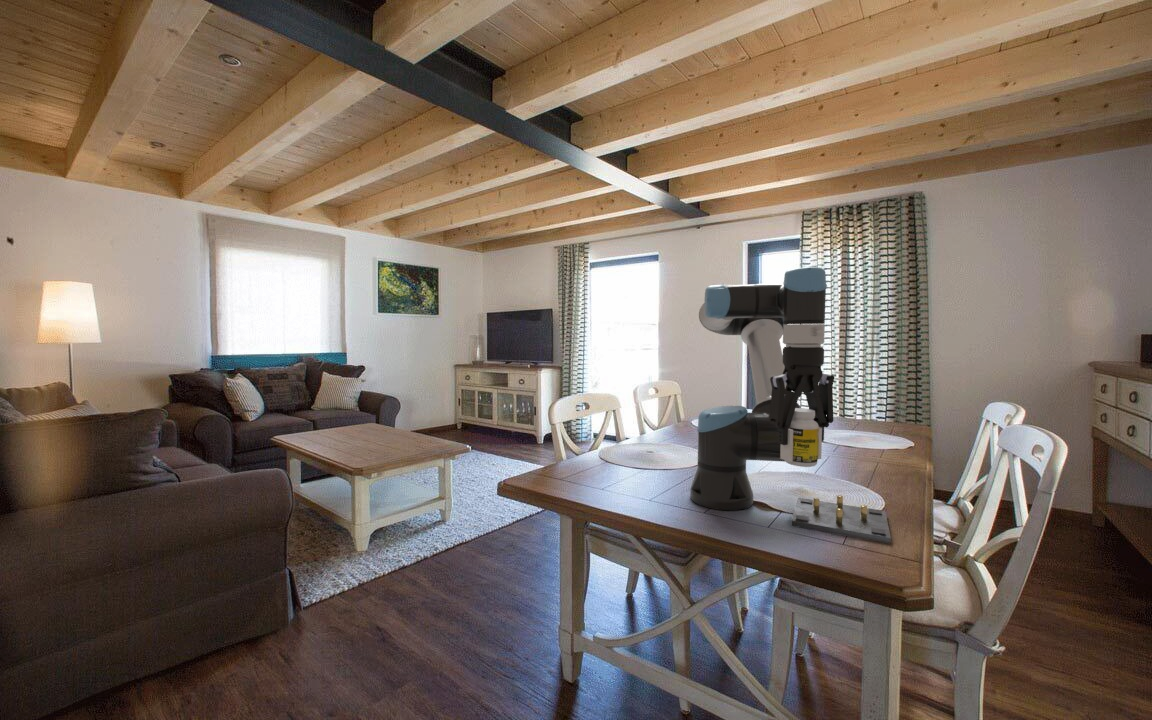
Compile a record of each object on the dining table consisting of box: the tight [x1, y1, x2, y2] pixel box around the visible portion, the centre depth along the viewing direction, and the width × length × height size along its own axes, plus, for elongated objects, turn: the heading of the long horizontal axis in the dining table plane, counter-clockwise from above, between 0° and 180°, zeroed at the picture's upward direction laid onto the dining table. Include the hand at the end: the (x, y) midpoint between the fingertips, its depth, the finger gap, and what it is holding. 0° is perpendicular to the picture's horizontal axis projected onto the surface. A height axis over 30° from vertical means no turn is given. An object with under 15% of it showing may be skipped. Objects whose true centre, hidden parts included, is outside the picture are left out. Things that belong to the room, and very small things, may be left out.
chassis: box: [790, 494, 892, 545], centre depth 105 cm, size 18×16×4 cm
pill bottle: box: [785, 407, 819, 468], centre depth 96 cm, size 6×6×11 cm
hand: (800, 458), depth 96 cm, fingers closed on pill bottle, 6 cm apart
